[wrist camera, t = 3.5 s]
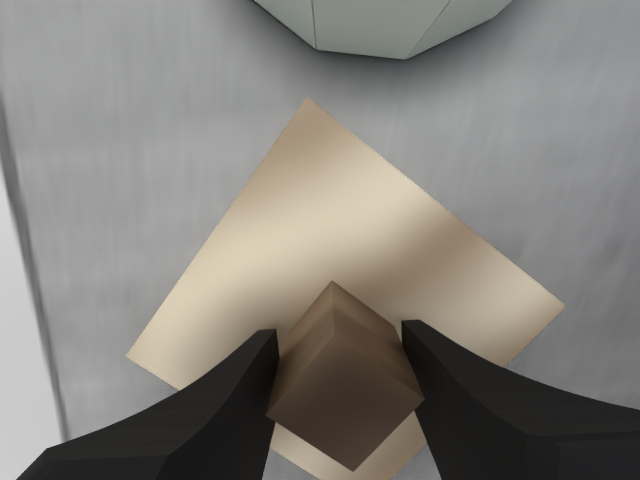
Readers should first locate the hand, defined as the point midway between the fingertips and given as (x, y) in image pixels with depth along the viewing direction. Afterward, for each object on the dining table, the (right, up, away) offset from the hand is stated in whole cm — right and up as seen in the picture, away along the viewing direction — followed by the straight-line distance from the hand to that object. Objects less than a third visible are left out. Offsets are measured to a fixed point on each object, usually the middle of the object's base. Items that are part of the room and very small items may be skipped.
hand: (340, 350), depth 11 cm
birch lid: (0, 0, +2) cm, 2 cm away
